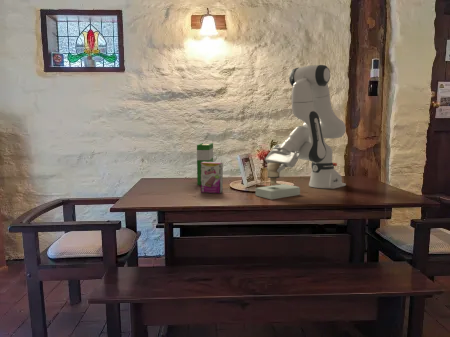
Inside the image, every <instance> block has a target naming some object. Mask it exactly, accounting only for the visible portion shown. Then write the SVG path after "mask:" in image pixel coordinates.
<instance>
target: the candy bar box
mask: <svg viewBox="0 0 450 337" xmlns="http://www.w3.org/2000/svg"><path fill="white" fill-rule="evenodd" d="M223 170H224V163H223V162H222V161H221V162H220V161H218V162H217V161H213V162H201V185H200V193H205V194H222V193H223V190H224V189H223V186H224V185H223V184H224V180H223V179H224V178H223V177H224V175H223V174H224V171H223Z"/></svg>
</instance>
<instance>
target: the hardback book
mask: <svg viewBox="0 0 450 337" xmlns="http://www.w3.org/2000/svg"><path fill="white" fill-rule="evenodd" d="M201 162H214V143H213V142H211V143H210V144H208V143H203V142H200V143H199V144H196V172H197V174H196V175H197V176H196V178H197V179H196V180H197V181H196V183H197V184H196V185H197V186H201Z"/></svg>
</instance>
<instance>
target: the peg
mask: <svg viewBox="0 0 450 337" xmlns="http://www.w3.org/2000/svg"><path fill="white" fill-rule="evenodd" d="M267 167H268V170H267V178H269V179H270V184H271V185H274V184H275V185H276V184H277V179H280V177H281V176H280V173H278V172H277V171H276V169H277V168H279V167H280V164H279V163H267Z"/></svg>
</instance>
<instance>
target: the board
mask: <svg viewBox="0 0 450 337" xmlns="http://www.w3.org/2000/svg"><path fill="white" fill-rule="evenodd" d="M300 195H301V187H300V186H296V185H290V184H286V183H281V184H280V183H279V184H275V185H274V184H272V185H267V186H260V187H255V196H257V197H260V198H264V199H268V200H276V199H282V198H287V197H288V198H289V197H293V196H294V197H295V196H300Z"/></svg>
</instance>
